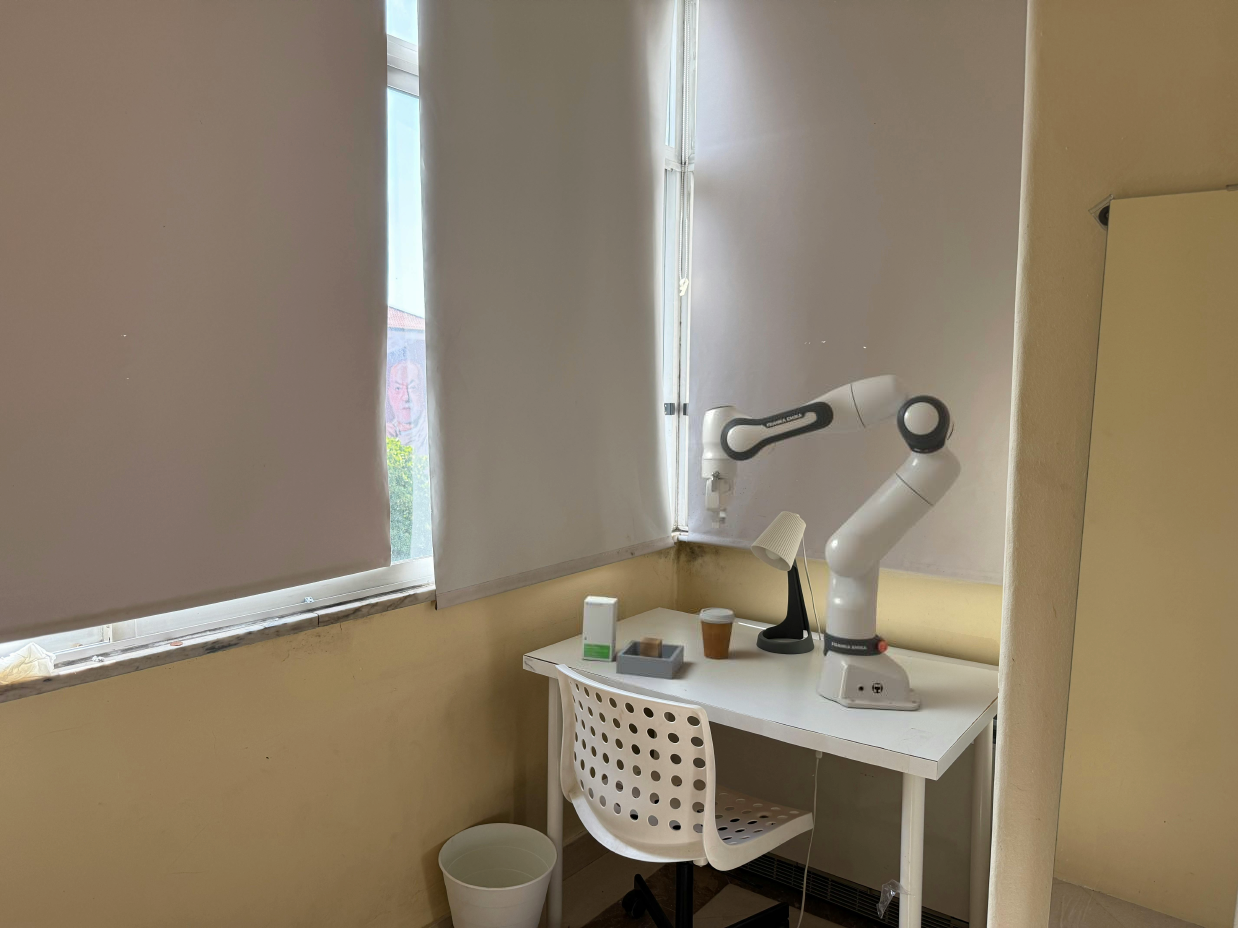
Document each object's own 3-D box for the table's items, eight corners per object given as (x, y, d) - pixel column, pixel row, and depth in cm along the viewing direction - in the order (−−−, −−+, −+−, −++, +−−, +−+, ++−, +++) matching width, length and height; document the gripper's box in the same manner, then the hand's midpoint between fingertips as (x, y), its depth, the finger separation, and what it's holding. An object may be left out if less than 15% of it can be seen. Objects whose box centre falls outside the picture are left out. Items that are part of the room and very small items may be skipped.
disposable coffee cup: (718, 648, 210) (719, 605, 210) (741, 657, 202) (742, 613, 201) (690, 653, 205) (692, 609, 204) (713, 663, 197) (714, 617, 196)
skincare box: (581, 659, 198) (582, 600, 197) (586, 652, 204) (587, 595, 203) (612, 661, 196) (614, 602, 196) (617, 654, 203) (618, 596, 202)
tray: (683, 662, 197) (683, 645, 197) (671, 679, 183) (672, 660, 183) (631, 656, 201) (631, 640, 201) (616, 672, 187) (616, 654, 187)
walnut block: (661, 662, 194) (662, 638, 193) (657, 667, 189) (657, 643, 189) (644, 660, 195) (645, 637, 195) (639, 665, 191) (640, 641, 190)
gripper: (725, 473, 179) (725, 531, 180) (737, 469, 199) (736, 522, 199) (699, 472, 181) (698, 530, 182) (713, 469, 201) (713, 521, 201)
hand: (718, 525), depth 191 cm, fingers open, 8 cm apart
